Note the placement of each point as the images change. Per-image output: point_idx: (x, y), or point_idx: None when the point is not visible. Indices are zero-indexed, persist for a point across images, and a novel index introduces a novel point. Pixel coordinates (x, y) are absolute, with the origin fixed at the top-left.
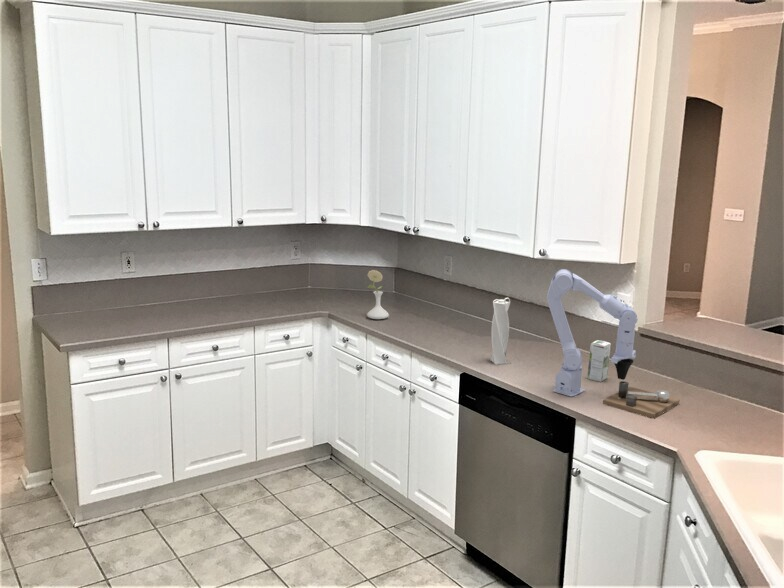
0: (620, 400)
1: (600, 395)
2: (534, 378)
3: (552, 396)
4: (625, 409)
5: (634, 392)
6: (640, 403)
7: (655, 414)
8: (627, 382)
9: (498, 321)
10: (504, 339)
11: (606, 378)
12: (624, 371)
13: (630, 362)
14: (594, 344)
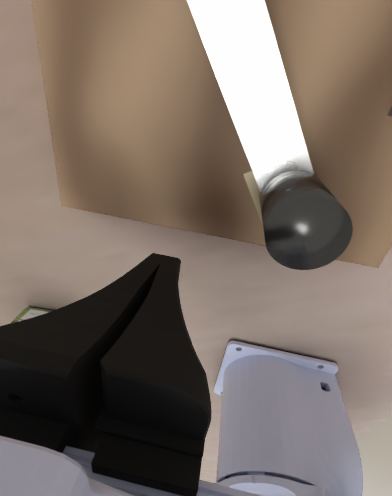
0: (348, 185)
1: (243, 286)
2: (209, 445)
3: (359, 403)
4: None
5: (252, 128)
6: (351, 32)
7: None
8: (280, 213)
9: None
10: None
11: (32, 308)
12: (180, 305)
13: (81, 359)
14: None
